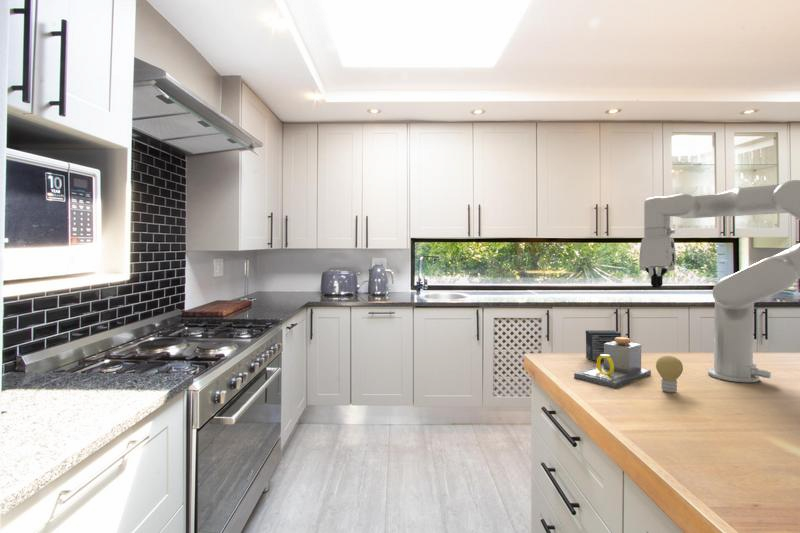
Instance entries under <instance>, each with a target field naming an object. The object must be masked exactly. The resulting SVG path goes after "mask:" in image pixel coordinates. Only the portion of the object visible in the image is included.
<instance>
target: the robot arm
mask: <svg viewBox="0 0 800 533" xmlns="http://www.w3.org/2000/svg"><path fill="white" fill-rule="evenodd" d="M643 214H644V217H643V220H644V221H643V223H644V224H643V230H644V231H643V237H641V238H642V239H641V241H640V242H641V243H640V246H639V247H640V248H639V255H638V256H639V258H638V260H639V270H641V271H644V272H646V273H647V274H648V275H649V276H650V284H651V285H650V286H651V287H652V289H660V288H662V287H663V280H664V278H663V277H664V276H665V274H666V273H667V272H671V271H675V270H676V268H675V266H676V264H677V256H676V255H677V254H676V253H677V252H676V246H675V239H674V237H671V236H672V235H674V234H675V233H676V232H675V231H676V230H675V229H672V228H671V217H675V218H681V219H700V218H701V219H702V218H715V217H716V218H717V217H718V218H719V217H741V216H755V215H756V216H757V215H774V214H778V215H779V214H790V215H791V216H793V217H794V218H796V219H797V220H799V221H800V180H799V179H793V180H788V181H785V182H782V183H780V184H770V185H769V184H768V185H767V184H766V185H758V186H757V185H756V186H747V187H745V186H744V187H737V188H733V189H731V190H730V189H729V190H727V191H724V192H720V193H713V194H706V195H705V194H704V195H692V194H689V193H679V194H674V195H673V194H672V195H668V196H653V197H648V198H646V199H645V200H644V208H643ZM798 280H800V243H798V244H795V245H793V246H792V247H790V248H788V249H785V250H783V251H781V252H779V253H777V254H774V255H772V256H769V257H765V258H763V259H761V260H760V261H757V262H756V263H753V264H751V265H750V266H747V267H745V268H743V269H741V270H739V271H737V272H735V273H733V274H730V275H727V276H724V277H722V278H721V279H719V280H718V281H717V282H716V283H715V284H714V286H713V288H712V297H713V299H714V321H713V322H714V325H713V327H714V328H713V330H714V331H713V333H714V334H713V335H714V336H713V339H714V340H713V342H714V343H713V367H712V368H709V369H708V370H707V374H708V375H709V376H711V377H713V378H715V379H719V380H723V381H729V382H734V383H756V382H759V381H760V377H762V378H765V379H771V378H772V372H771V371H768V370H766V369H759V368H758V367H757V363H754V320H755V318H754V317H755V316H754V315H755V314H754V311H755V310H754V308H755V303H758V302H760V301H762V300H765V299H767V298H769V297H771V296H774V295H776V294H779V293H781V292H783V291H785V290H787V289H790V287H792V286H793V285H794V284H795V283H796V282H797V281H798Z"/></svg>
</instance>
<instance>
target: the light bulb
mask: <svg viewBox="0 0 800 533" xmlns="http://www.w3.org/2000/svg"><path fill="white" fill-rule="evenodd" d="M655 368H656V371H657V373H658V374H659V375H660V377H661V383H660V384H661V386H660V388H661V390H662V391H663V392H665V393H670V394H671V393H676V392H677V391H678V388H677V387H678V381H677V379H678V378H679V377H681V375H682V373H683V371H684V366H683V363H682V361H681V360H680V359H679V358H677V357H675V356H672V355H663V356H661V357H659V358H658V359H657V361H656V363H655Z"/></svg>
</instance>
